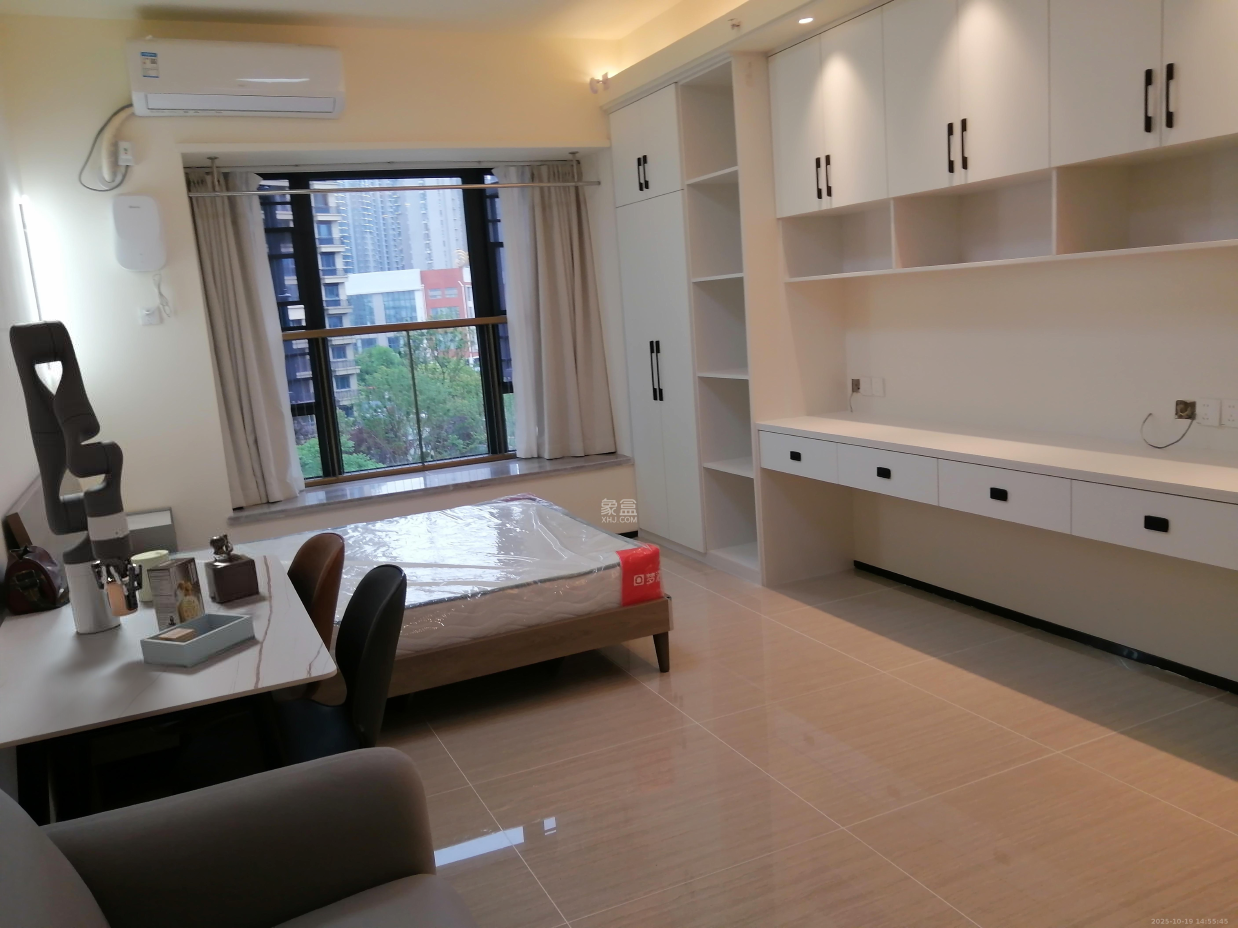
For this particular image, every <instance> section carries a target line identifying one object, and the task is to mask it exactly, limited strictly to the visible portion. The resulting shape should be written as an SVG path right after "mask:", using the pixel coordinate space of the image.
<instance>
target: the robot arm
mask: <svg viewBox="0 0 1238 928" xmlns="http://www.w3.org/2000/svg"><path fill="white" fill-rule="evenodd" d="M68 330H69V329H67V327H66V325H65V324H64V322H62V321H61V320H58V319H46V320H38V321H29V322H28V321H27V322H21V323H15V324H13V325H11V326H10V329H9V334H8V335H9V336H8V337H9V343H10V348H11V352H12V355H13V359H14V362H15V367H16V369H17V373H18V376H19V381H20V383H21V387H22V391H23V395H24V401H25V407H26V412H27V418H28V425H29V430H30V435H31V439H32V445H33V448H34V452H35V456H36V461H37V465H38V469H39V474H40V479H41V485H42V493H43V500H44V508H45V515H46V519H47V524H48V528H49V529H50V531H51V533H52V534H54V535H55V536H66V535H70V534H71V535H72V534H77V533H81V532H82V533H83V532H87V534H86V535H85V537H84V538H83V539H81V540H80V541H79V542H77V543H76V544H74V545H72V546H70V547H68V548H67V549H65V550H64V551H63V552H62V560H63V561H62V562H63V565H64V570H65V574H66V579H67V584H68V589H69V593H68V597H69V601H70V606H71V611H72V617H73V620H74V626H75V630H76V631H77V632H78V633H79V634H84V635H85V634H94V633H99V632H104V631H106V630H110V629H113V628H115V627H117V626H119V625H120V624H121V618H120V617H114V616H112V611H111V606H110V601H109V596H108V591H107V586H106V584H108V583H111V582H114V581H117V583H118V585H119V586H121V587H122V589H123V591H124V594H125V595H124V597H125V602H126V607H127V610H128V611H132V610H135V609H137V608H139V602H138V596H137V592H138V590H140V589H142V588H143V584H142V565H141V564H137V565H135V564H132V561H131V557H130V553H132V552H133V550H134V549H133V545H132V538H131V533H130V528H129V522H128V519H127V516H126V513H125V509H124V504H123V503H124V502H123V500H122V492H121V489H122V487H121V486H122V485H121V484H122V472H123V465H124V454H123V450H122V448H121V446H120V445H119V444H118V443H117V442H116V441H113V440H110V439H107V440H100V441H95V442H90V443H85V442H88V441H90V440H92V439H94V438H95V437H97V436H98V435H99V434H100V432H101V425H100V422H99V420H98V416H97V415H96V413H95V410H94V408H93V406H92V404H91V402H90V400H89V397H88V394H87V391H86V387H85V384H84V380H83V377H82V376H83V375H82V373H81V368H80V365H79V362H78V361H79V360H78V358H77V354H76V352H75V347H74V344H73V340H72V338H71V335H70V333H69V331H68ZM56 362H57V363H58V362H60V363H61V364H60V365H61V368H62V369H61V375H60V380H59V382H58V386H57V387H56V390H55V393H53V392H52V390H50V389H49V388H48V387H47V385H46V384H45V383H44V382H43V380H41V378H40V377H39V376H40V375H38V372H37V369H36V365H42V364H49V363H56ZM82 443H83V444H82ZM67 470H68V472H69V473H70V474H71V476H74V477H76V478H78V479H87V478H92V477H96V476H101V475H102V476H103V475H104V477H103V479H102V481H101V482H100V483H98V484H97V485H95V486H92V487H89V488H87V489H86V490H84V492H77V493H71V494H65V495H60V491H61V487H62V486H61V485H62V483H63V479H64V477H65V475H66V472H67ZM122 579H126V580H122ZM136 581H137V585H136ZM126 583H129V588H128V587H127V585H126Z"/></svg>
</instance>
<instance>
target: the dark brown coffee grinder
mask: <svg viewBox="0 0 1238 928" xmlns="http://www.w3.org/2000/svg"><path fill="white" fill-rule="evenodd" d="M228 537H229V534H227V533H224V534H222V535H215V536H213V537H211V538H210V540H209V546H210V547H211V548H213V555H214V556H213V558H214V559H213V560H211V561H206V562H204V563H203V565H204V566H203V567H204V572H205V577H206V579H205V580H206V584H207V588H208V597H209V598H210V599H211V600H212V601H214V602H216V603H219V604H223V603H229V602H233V601H237V600H242V599H246V598H249V597H253V596H257V595H260V588H259V580H258V574H257V565H256V561H255V559H254V558H251V557H249V556H247V555H246V554H243V553H241V554H239V553H234V549H235V548H234V546H233V544H231V542H230V541H229V538H228ZM232 552H233V553H232ZM215 556H217V557H215Z"/></svg>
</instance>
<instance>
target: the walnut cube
mask: <svg viewBox="0 0 1238 928" xmlns="http://www.w3.org/2000/svg"><path fill="white" fill-rule="evenodd" d="M195 638H196V636H195V631H194V630H191V629H180V628H178V629H175V630H173V631H171V632H168V633H166V634H163V635H161V636H158V639H159V640H160V641H170V642H180V643H186V642H188V641H190V640H193V639H195Z"/></svg>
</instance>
